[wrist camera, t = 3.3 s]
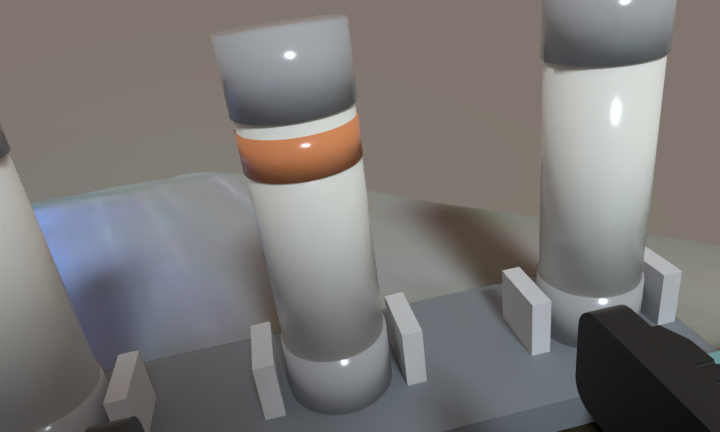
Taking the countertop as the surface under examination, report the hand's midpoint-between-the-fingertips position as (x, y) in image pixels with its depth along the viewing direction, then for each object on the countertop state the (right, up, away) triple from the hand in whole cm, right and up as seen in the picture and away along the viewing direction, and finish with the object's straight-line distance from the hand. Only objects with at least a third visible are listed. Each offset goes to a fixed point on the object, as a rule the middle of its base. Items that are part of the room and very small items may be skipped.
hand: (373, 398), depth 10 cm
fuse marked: (-1, -3, +13) cm, 14 cm away
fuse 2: (+10, -1, +14) cm, 17 cm away
